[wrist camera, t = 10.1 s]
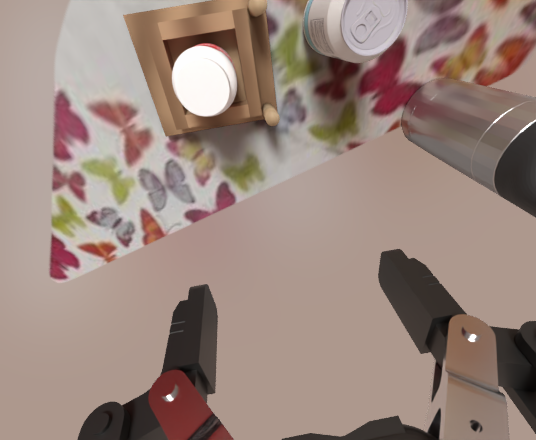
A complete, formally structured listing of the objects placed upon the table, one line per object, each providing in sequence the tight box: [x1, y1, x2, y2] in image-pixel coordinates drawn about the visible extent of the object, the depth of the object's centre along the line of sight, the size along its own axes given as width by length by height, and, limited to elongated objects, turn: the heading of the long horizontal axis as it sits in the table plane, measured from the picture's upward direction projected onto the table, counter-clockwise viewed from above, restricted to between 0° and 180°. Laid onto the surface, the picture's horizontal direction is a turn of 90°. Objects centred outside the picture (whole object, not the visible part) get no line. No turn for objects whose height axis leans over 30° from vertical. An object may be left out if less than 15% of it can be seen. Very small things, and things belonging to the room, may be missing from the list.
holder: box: [123, 0, 280, 136], centre depth 32 cm, size 15×13×6 cm
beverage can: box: [303, 0, 408, 63], centre depth 28 cm, size 7×7×12 cm
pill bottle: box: [172, 43, 237, 116], centre depth 29 cm, size 6×6×11 cm
